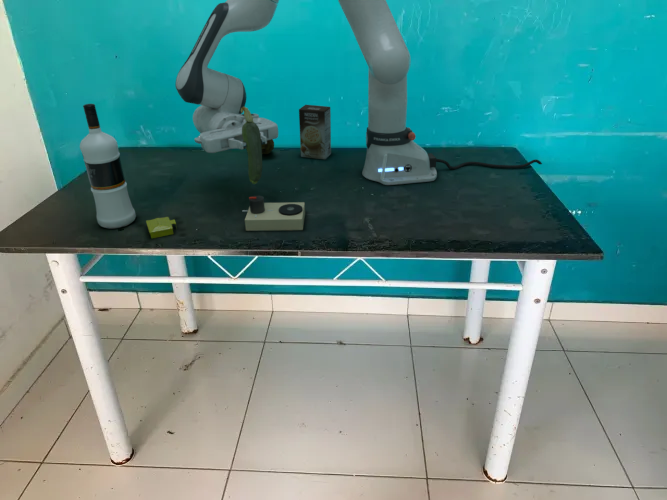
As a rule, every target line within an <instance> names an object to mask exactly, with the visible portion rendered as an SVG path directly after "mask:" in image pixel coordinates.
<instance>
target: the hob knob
mask: <svg viewBox="0 0 667 500" xmlns="http://www.w3.org/2000/svg"><path fill="white" fill-rule="evenodd" d="M248 201H249V207H250V211H251V213H254V214H260V213H263V212H264V211H265V206H264V203H265V198H264V196H262V195H253V196H248Z"/></svg>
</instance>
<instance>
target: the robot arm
mask: <svg viewBox="0 0 667 500" xmlns="http://www.w3.org/2000/svg"><path fill="white" fill-rule="evenodd" d="M279 1H280V0H226V1H225V2H220V3H218V4H216V5H215V7H214V9H213V10H212V12H211V13H210V15H209V17H208V18H207V20H206V22H205V24H204V25H203V28H202V30H201V32H200V34H199V36H198V38H197V39H196V41H195V44H194V46H193V47H192V49H191V52H190V54H189V55H188V56H187V59H186V60H185V61H184V63H183V64H182V66H181V67H180V69H179V71H178V73H177V76H176V79H175V89H176V91H177V93H178V96H180V98H181V99H182V100H183V102H185V103H188V104H193V105H197V106H198V105H199V106H198V107H197V108H196V109H194V112H193V113H192V123H193V125H194V127H195V129H196V130H197V132H198V133H200V134H199V135H198V136H197V137H194V142H195V143H197V144H199V145H200V146H201V149H202V150H203V151H204V152H206V154H207V153H208V154H215V153H219V152H224V151H228V150H234V149H238V150H246V148H247V146H246V142H245V141H244V140H243V136H242V126H243V125H244V124H245V123H246V122H247V121H246V120H245V118H244V113H242V112H241V108H242V107H246V103H247V90H246V87H245V85H244V82H243V81H242V80H241V78H239V77H236V76H233V75H230V74H227V73H225V72H221V71H219V70H218V71H217V70H215V69H213V68H209V67H208V65H209V64H210V62H211V60H212V58H213V56H214V54H215V52H216V50H217V48H218V46H219V45H220V42H221V41H222V40H223V38H225V36H227V35H230V34H232V33H233V34H234V33H239V32H241V33H242V32H243V33H244V32H245V33H247V32H248V33H250V32H256V31H260V30H262V29H264V28H266V27H267V26H269V24H270V23H271V22H272V20H273V18H274V15H275V13H276V11H277V8H278V5H279ZM337 1H338V4H339V6H340V8H341V10H342V12H343V14H344V16H345V18H346V20H347V23H348V24H349V27H350V29H351V31H352V34H353V35H354V37H355V40H356V42H357V44H358V46H359V49H360V51H361V53H362V55H363V58H364V60H365V62H366V65H367V67H368V77H367V78H368V82H367V83H368V87H367V88H368V89H367V90H368V91H367V93H368V95H367V96H368V99H367V102H368V105H367V127H366V131H365V145H366V153H365V154H366V155H365V161H364V166H363V169H362V172H361V174H362V176H363V177H364V178H366V179H367V180H370V181H374V182H378V183H380V184H381V185H384V186H394V185H404V184H417V183H426V182H427V183H428V182H434V181H435V180H436V179H437V177H438V172H437V169H436V166H437V163H440V164H441V163H442V164H444V165H445V166H446V167H447V169H449V170H458V169H461V168H463V167H465V166H469V165H471V166H472V165H473V166H483V167H487V168H497V169H498V168H499V169H522V168H526V167H529V166H530V165H532V164H535V163H536V164H538V165H543V163H542V161H541V160H539V159H532V160H530V161H528V162H527V163H524V164H514V165H513V164H512V165H508V164H493V163H488V162H480V161H466V162H461V163H460V164H458V165H457V166H452V165H451V164H450V163H449V162H448V161H446V160H444V159H441V158H437V157H436V156H435V155H434V154H433V153H432V152H431V153H429V152H427V151H426V150H425V149H424V148H423V147H422V146H421V145H419V144H418V143H416V142H415V139H416V133H415V132H413V130H412V129H411V127H407V113H408V111H407V109H408V73H409V71H410V69H411V64H412V58H411V54H410V51H409V49H408V47H407V45H406V42H405V39H404V38H403V36H402V33H401V31H400V29H399V27H398V24H397V22H396V20H395V18H394V16H393V13H392V11H391V9H390V7H389V5H388V3H387V0H337ZM251 115H252V117H253V122H254V123H256V125H257V126H258V128H259V131H260V137H261V145H263V144H267V140H271V139H273V140H276V139H278V137H279V127H278V124H277V123H276V122H275V121H272V120H270V119H268V118H265V117H260V115H259V114H258V113H251Z"/></svg>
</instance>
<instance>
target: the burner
mask: <svg viewBox="0 0 667 500" xmlns="http://www.w3.org/2000/svg"><path fill="white" fill-rule="evenodd" d="M302 211H303V208H302V206H300V205H297V204H286V205H283V206H281V207H280V208H279V213H280V214H282V215H287V216H292V215H297V214H300V213H301V212H302Z"/></svg>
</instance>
